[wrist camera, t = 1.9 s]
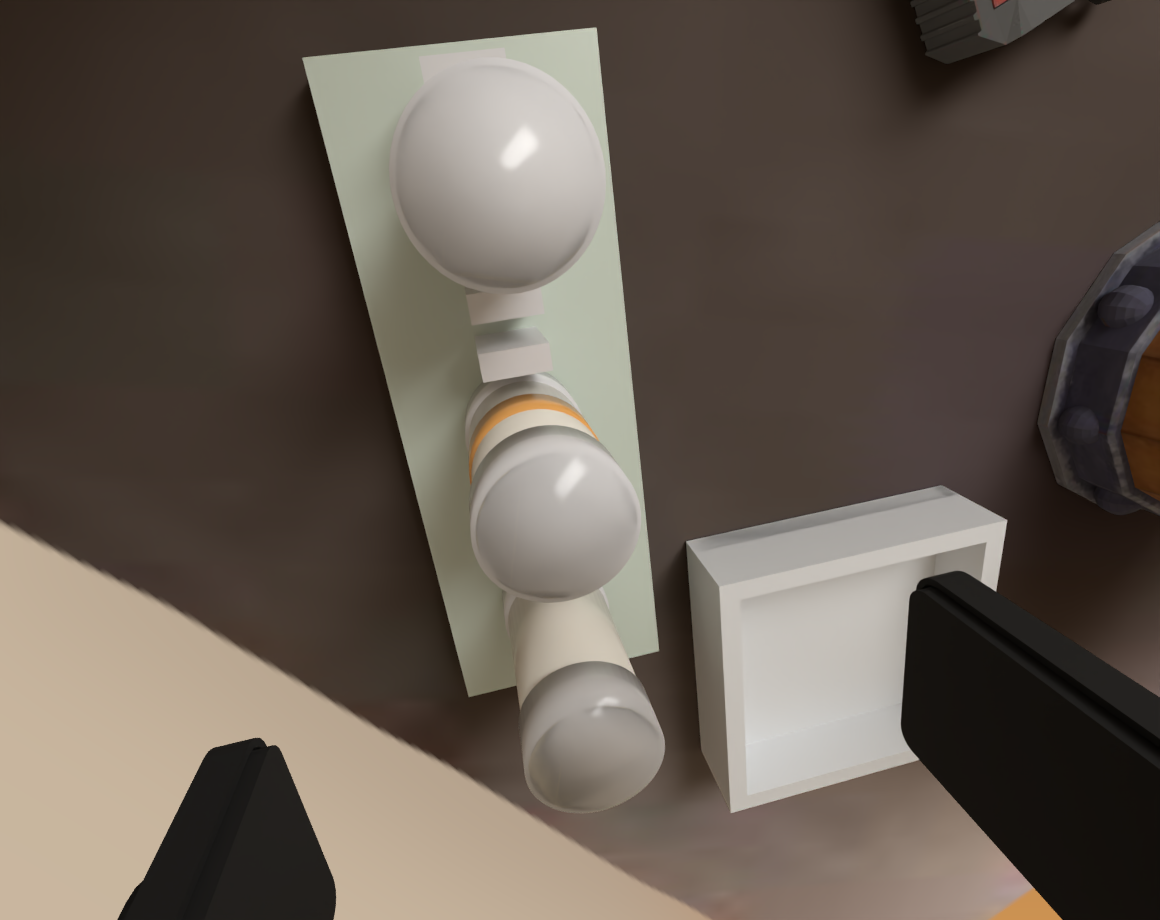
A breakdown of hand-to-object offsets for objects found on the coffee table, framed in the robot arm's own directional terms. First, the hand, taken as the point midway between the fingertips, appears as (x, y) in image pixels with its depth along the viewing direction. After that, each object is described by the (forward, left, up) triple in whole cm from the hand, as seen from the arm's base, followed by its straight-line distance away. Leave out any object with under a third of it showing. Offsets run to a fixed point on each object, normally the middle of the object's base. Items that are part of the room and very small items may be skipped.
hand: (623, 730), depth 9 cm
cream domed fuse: (-8, 0, -13) cm, 15 cm away
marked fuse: (-1, 0, -13) cm, 13 cm away
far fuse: (+6, 0, -13) cm, 15 cm away
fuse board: (-1, 0, -15) cm, 15 cm away
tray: (+12, +12, -15) cm, 23 cm away
